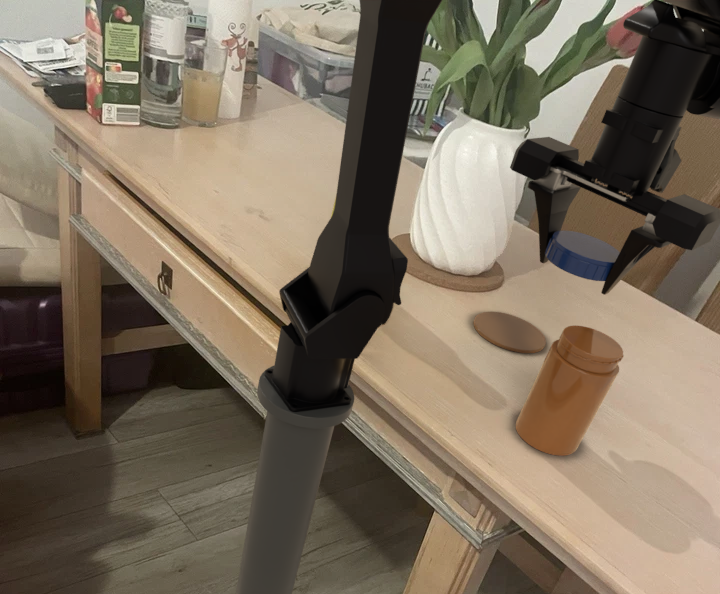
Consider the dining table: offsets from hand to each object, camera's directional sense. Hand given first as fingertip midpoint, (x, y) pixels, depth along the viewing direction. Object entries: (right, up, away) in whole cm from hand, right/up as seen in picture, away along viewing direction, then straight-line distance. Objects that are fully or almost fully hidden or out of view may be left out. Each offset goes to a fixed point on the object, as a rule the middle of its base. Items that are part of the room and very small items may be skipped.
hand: (573, 277), depth 68 cm
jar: (-3, -16, 0) cm, 16 cm away
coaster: (-3, -2, +16) cm, 16 cm away
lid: (+1, +2, -2) cm, 3 cm away
